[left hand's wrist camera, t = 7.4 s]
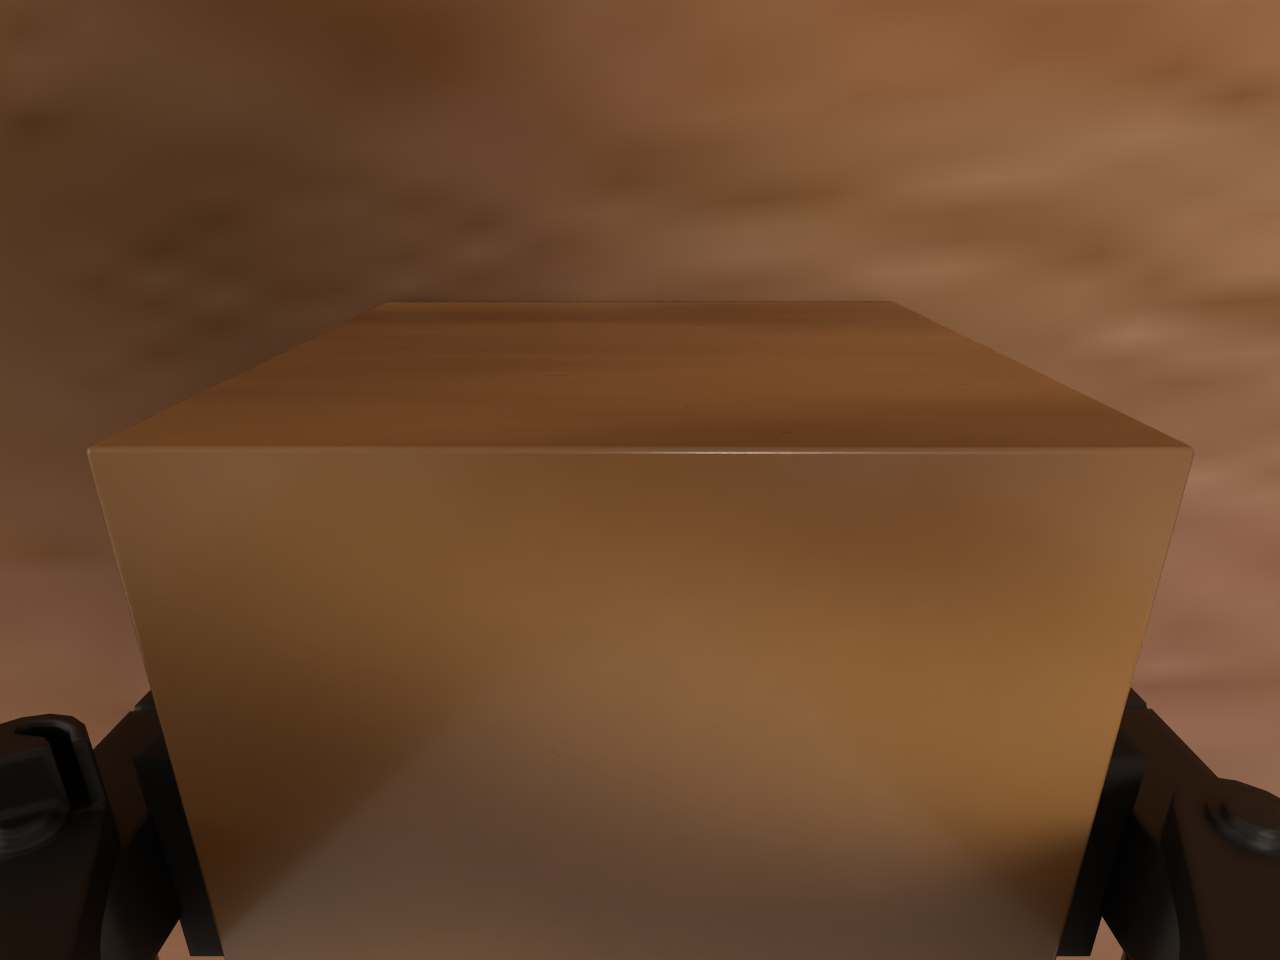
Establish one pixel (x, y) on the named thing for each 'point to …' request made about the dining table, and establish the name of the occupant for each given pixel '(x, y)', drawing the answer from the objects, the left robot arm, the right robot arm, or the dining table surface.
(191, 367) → the dining table surface
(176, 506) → the thick board
